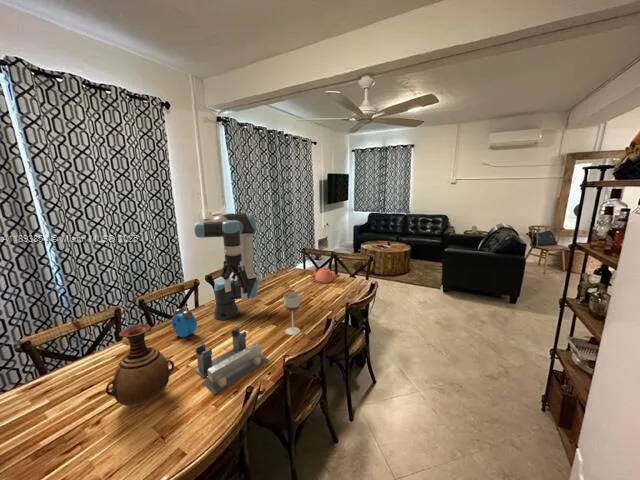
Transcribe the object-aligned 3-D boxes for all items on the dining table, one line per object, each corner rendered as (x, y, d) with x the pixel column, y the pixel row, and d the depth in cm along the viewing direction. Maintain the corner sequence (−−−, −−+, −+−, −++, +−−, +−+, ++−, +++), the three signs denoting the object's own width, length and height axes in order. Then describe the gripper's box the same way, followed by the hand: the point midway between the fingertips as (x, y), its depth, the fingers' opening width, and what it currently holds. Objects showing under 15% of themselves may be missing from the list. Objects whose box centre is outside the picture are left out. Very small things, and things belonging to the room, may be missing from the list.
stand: (194, 370, 123) (192, 348, 120) (240, 346, 141) (239, 326, 139) (203, 378, 118) (201, 355, 115) (249, 352, 136) (248, 331, 134)
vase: (105, 427, 94) (90, 350, 88) (119, 391, 111) (107, 323, 105) (174, 407, 103) (165, 335, 97) (178, 376, 119) (170, 313, 113)
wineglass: (298, 336, 151) (298, 298, 146) (282, 334, 153) (281, 297, 148) (302, 327, 159) (302, 292, 155) (287, 326, 161) (286, 291, 156)
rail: (212, 382, 111) (211, 373, 110) (208, 378, 114) (207, 369, 113) (261, 353, 130) (261, 345, 129) (256, 350, 132) (256, 342, 132)
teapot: (308, 281, 234) (307, 267, 231) (316, 276, 246) (316, 263, 244) (330, 286, 223) (331, 271, 220) (338, 280, 236) (339, 266, 233)
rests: (211, 378, 117) (210, 373, 117) (250, 356, 133) (250, 351, 132) (221, 387, 112) (220, 382, 112) (261, 362, 128) (260, 357, 127)
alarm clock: (198, 334, 152) (195, 310, 149) (189, 340, 146) (186, 314, 143) (181, 329, 157) (179, 305, 154) (172, 335, 152) (169, 310, 149)
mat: (201, 383, 115) (201, 382, 115) (255, 352, 136) (255, 351, 136) (214, 395, 109) (214, 394, 109) (268, 360, 130) (268, 359, 130)
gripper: (211, 250, 133) (215, 290, 138) (242, 260, 118) (245, 305, 123) (225, 247, 139) (228, 286, 144) (256, 256, 124) (258, 299, 129)
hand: (236, 295), depth 134 cm, fingers open, 13 cm apart
